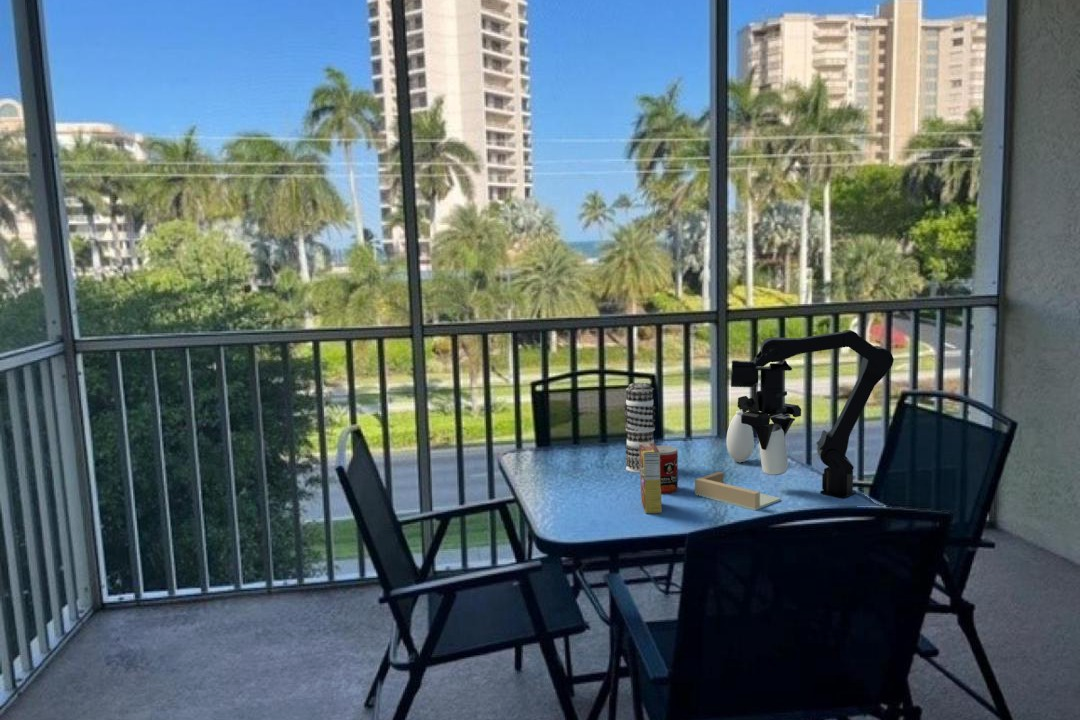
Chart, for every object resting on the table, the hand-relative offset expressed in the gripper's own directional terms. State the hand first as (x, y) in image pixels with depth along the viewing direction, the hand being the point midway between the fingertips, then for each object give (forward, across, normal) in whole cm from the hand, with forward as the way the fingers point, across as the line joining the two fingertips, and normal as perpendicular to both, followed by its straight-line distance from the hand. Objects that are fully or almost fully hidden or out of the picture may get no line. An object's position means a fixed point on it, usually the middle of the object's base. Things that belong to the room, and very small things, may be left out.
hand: (771, 447), depth 202 cm
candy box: (+12, +32, -13) cm, 36 cm away
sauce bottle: (+12, -19, -23) cm, 32 cm away
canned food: (+12, +18, -21) cm, 30 cm away
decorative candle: (+12, +7, -39) cm, 41 cm away
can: (+7, -2, 0) cm, 7 cm away
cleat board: (+12, +10, -3) cm, 16 cm away
